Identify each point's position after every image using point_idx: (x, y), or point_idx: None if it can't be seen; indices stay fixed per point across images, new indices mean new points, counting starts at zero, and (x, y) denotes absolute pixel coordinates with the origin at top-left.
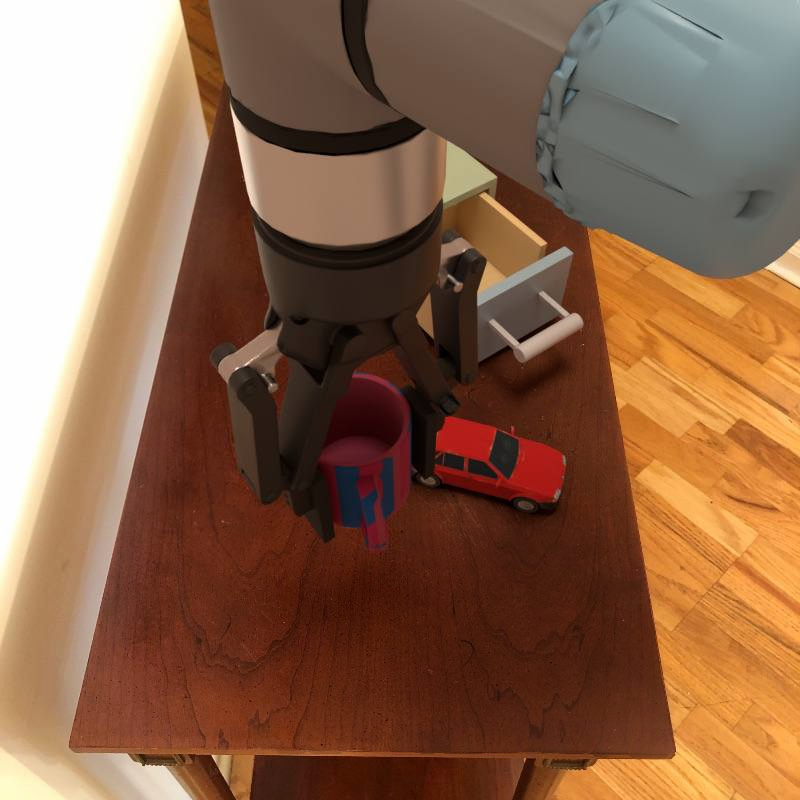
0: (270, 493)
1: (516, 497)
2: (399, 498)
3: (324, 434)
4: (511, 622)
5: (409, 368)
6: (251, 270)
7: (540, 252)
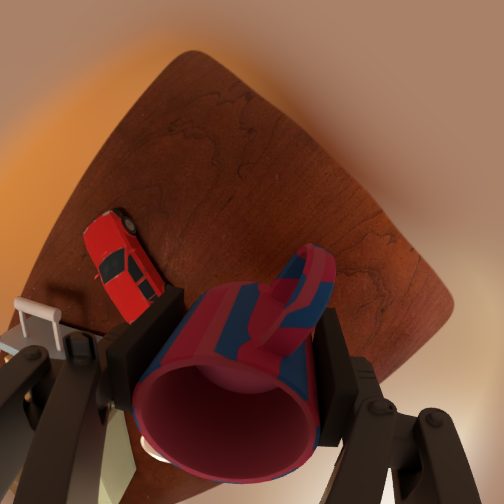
0: (440, 426)
1: (130, 233)
2: (229, 291)
3: (336, 496)
4: (202, 163)
5: (85, 464)
6: (176, 469)
7: (11, 356)
